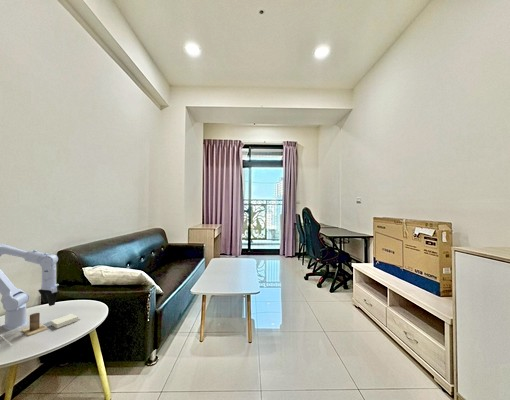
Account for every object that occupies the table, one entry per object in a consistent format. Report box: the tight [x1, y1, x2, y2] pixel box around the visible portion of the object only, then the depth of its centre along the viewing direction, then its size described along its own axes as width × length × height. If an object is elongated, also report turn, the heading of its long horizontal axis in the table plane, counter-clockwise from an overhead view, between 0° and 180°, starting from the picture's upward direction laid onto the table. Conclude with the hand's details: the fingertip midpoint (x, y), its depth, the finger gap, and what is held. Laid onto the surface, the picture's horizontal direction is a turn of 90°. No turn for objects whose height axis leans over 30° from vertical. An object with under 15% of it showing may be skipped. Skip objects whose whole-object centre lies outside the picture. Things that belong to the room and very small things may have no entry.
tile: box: [50, 313, 79, 329], centre depth 123 cm, size 2×9×7 cm
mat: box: [42, 318, 81, 331], centre depth 125 cm, size 12×12×1 cm
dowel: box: [29, 312, 41, 331], centre depth 117 cm, size 4×4×7 cm
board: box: [21, 323, 48, 337], centre depth 117 cm, size 9×7×1 cm
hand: (48, 303), depth 126 cm, fingers open, 7 cm apart
